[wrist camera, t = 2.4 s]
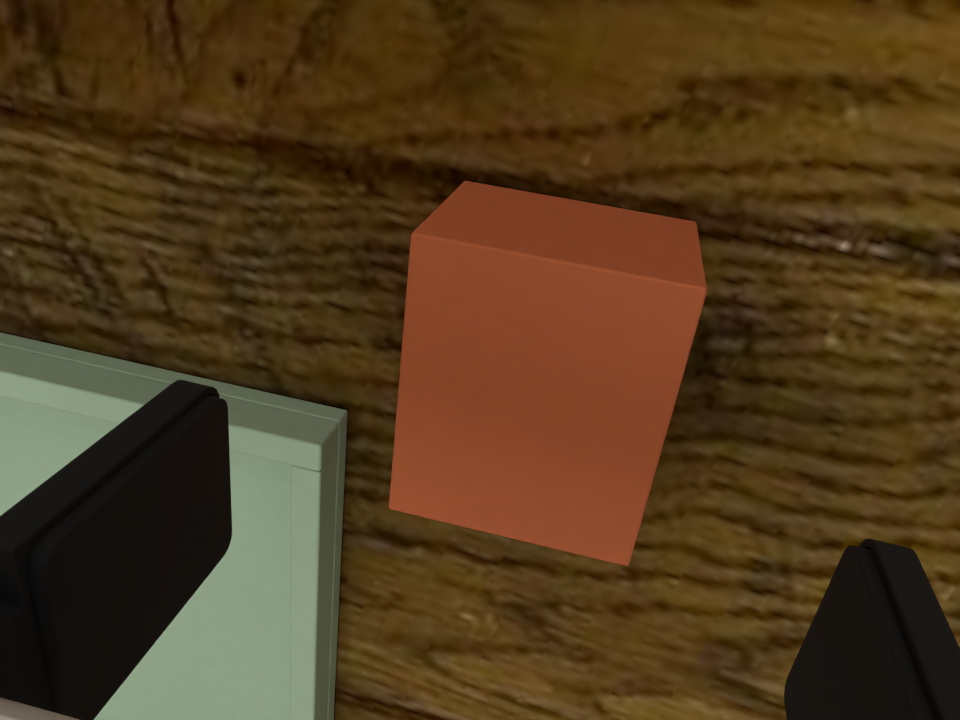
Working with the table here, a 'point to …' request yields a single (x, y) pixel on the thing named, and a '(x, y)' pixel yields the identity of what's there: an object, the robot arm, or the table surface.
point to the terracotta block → (542, 365)
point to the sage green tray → (254, 544)
